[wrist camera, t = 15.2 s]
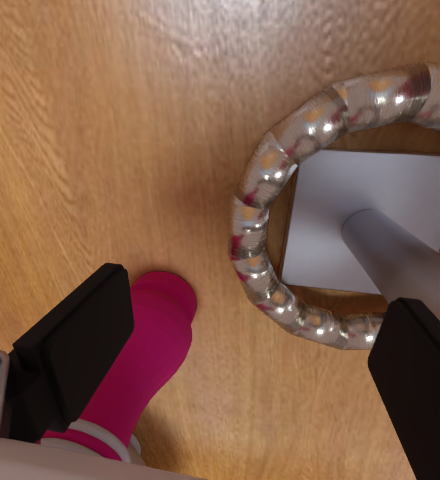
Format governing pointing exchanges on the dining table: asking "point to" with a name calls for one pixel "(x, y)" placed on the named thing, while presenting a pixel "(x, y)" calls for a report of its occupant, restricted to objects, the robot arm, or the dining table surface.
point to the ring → (284, 164)
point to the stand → (366, 224)
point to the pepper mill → (135, 368)
